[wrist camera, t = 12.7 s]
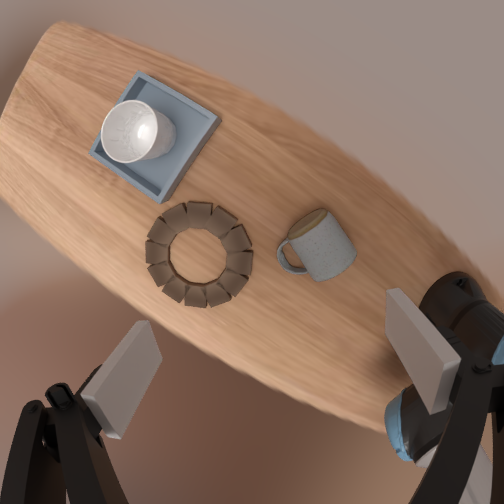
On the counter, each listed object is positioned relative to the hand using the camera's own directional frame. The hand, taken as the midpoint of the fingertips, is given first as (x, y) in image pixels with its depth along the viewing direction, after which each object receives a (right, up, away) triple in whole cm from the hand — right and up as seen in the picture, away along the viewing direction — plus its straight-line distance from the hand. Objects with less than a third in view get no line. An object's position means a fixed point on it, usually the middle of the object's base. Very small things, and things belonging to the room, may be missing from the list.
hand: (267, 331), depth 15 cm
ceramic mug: (+8, +5, +30) cm, 32 cm away
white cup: (-15, +22, +25) cm, 37 cm away
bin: (-15, +22, +26) cm, 37 cm away
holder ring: (-9, +4, +31) cm, 33 cm away
